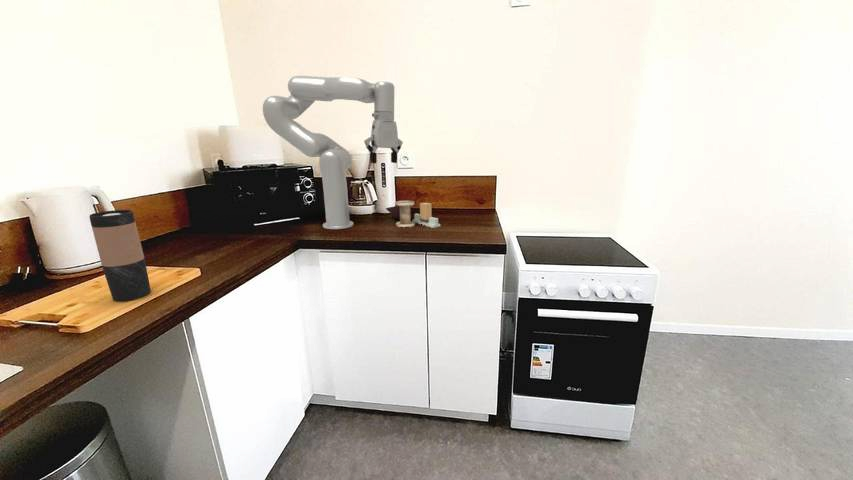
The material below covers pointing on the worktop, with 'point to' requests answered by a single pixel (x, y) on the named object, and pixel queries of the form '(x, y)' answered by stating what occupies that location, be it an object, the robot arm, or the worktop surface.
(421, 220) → the tan rectangular block
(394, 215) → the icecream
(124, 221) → the travel mug
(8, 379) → the worktop surface
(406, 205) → the spool
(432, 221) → the notch board
